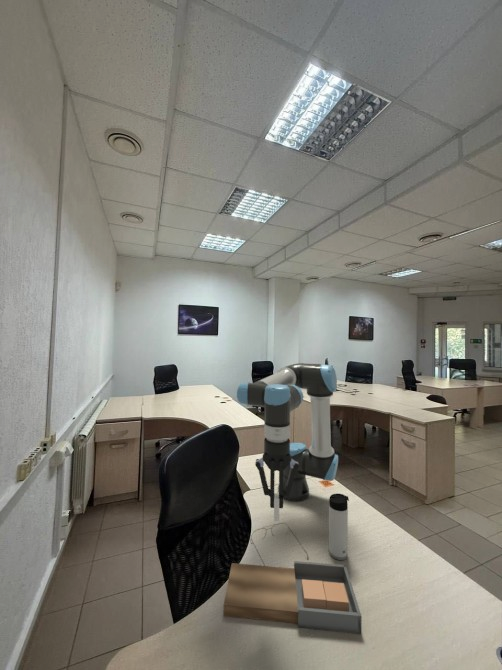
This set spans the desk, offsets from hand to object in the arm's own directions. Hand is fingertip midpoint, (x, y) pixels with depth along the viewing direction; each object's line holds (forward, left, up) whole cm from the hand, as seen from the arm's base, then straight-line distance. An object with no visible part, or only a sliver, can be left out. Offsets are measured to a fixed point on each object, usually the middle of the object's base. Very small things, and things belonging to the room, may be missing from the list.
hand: (276, 518), depth 81 cm
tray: (0, +14, -23) cm, 27 cm away
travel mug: (-18, +22, -23) cm, 37 cm away
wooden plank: (0, -4, -23) cm, 23 cm away
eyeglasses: (-17, +1, -23) cm, 29 cm away
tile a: (0, +11, -22) cm, 24 cm away
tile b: (+1, +17, -22) cm, 28 cm away
